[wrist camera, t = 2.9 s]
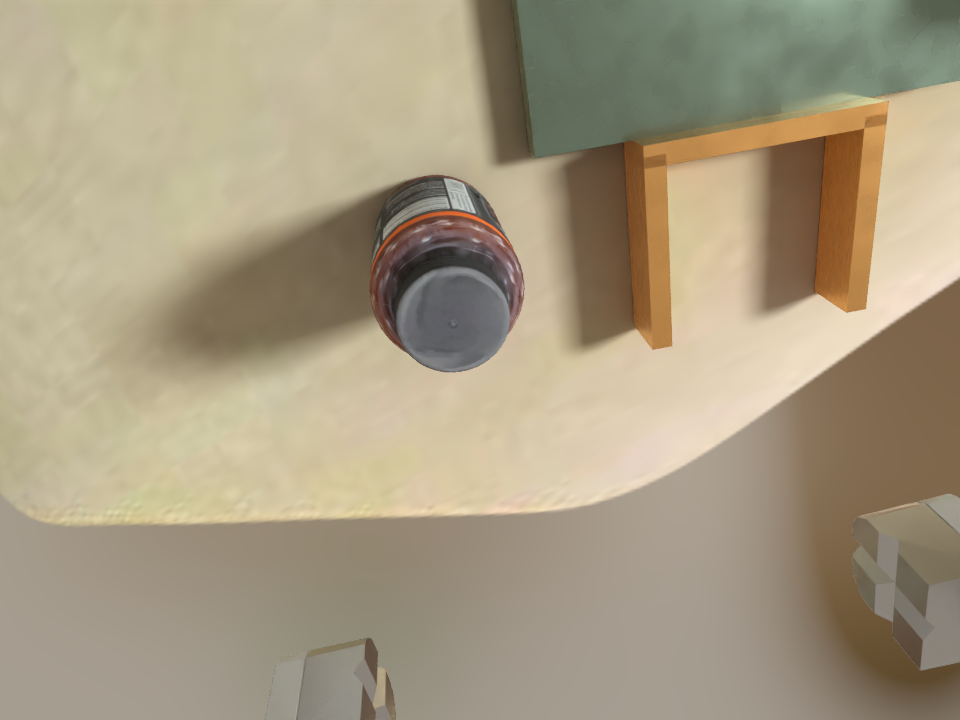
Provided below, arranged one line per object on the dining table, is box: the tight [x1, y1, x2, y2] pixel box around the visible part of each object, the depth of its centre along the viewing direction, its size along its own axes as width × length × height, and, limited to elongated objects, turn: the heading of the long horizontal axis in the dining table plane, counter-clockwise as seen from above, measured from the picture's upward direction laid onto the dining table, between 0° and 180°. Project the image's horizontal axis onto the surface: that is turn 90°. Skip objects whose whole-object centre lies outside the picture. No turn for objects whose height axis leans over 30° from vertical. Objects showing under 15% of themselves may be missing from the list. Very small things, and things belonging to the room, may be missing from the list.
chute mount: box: [511, 0, 960, 350], centre depth 31 cm, size 20×22×3 cm
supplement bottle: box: [370, 175, 525, 372], centre depth 29 cm, size 6×6×11 cm
